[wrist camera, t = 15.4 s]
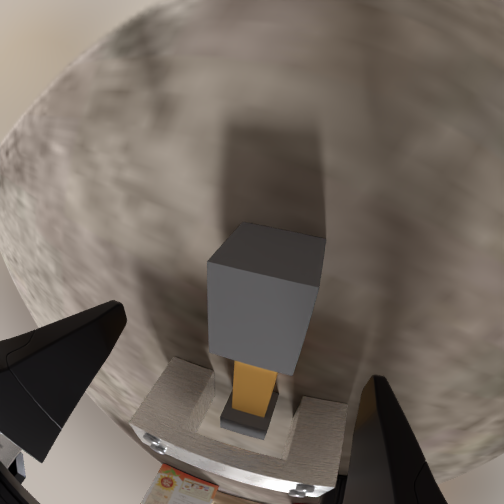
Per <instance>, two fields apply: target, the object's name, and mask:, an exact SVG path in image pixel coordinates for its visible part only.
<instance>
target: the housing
mask: <svg viewBox="0 0 504 504" xmlns="http://www.w3.org/2000/svg"><path fill="white" fill-rule="evenodd" d="M214 397H215V388H214V371H212V370H210V369H207V368H204V367H201V366H198V365H195V364H193V363H190V362H187V361H185V360H182V359H179V358H177V357H173V358H172V360H171V361H170V363H169V364H168V366H167V367H166V368H165V370H164V371H163V373H162V374H161V376H160V377H159V379H158V380H157V382H156V383H155V384H154V386H153V387H152V389H151V390H150V392H149V393H148V395H147V396H146V398H145V399H144V401H143V402H142V403H141V405H140V406H139V408H138V409H137V411H136V412H135V414H134V415H133V417H132V418H131V420H130V421H129V424H130V425H131V427H132V428H133V430H134V431H135V433H136V434H137V436H138V437H139V438H140V440H141V441H142V442H143V443H145V444H147V445H149V446H150V448H151V449H152V450H154V451H155V452H157V453H159V454H162V455H164V454H167V455H169V456H172V457H174V458H176V459H179V460H181V461H183V462H186V463H188V464H191V465H193V466H196V467H198V468H201V469H203V470H206V471H209V472H212V473H215V474H218V475H221V476H224V477H227V478H230V479H233V480H236V481H240V482H243V483H247V484H251V485H255V486H259V487H263V488H267V489H272V490H276V491H281V492H286V493H289V494H288V495H290V496H294V497H305V496H311V497H318V496H320V495H322V494H324V493H326V492H328V491H330V490H332V489H333V488H335V485H336V480H337V475H338V469H339V464H340V458H341V452H342V445H343V439H344V431H345V423H346V415H347V405H348V404H345V403H339V402H333V401H328V400H322V399H317V398H312V397H307V396H303V398H302V400H301V402H300V404H299V406H298V408H297V410H296V413H295V415H294V417H293V419H292V423H291V427H290V430H289V434H288V438H287V441H286V445H285V448H284V451H283V455H282V458H281V459H280V458H275V457H271V456H267V455H263V454H259V453H255V452H252V451H248V450H244V449H241V448H238V447H234V446H231V445H228V444H225V443H222V442H219V441H216V440H213V439H211V438H208V437H205V436H202V435H200V434H197V433H196V432H197V431H198V429H199V427H200V425H201V423H202V421H203V419H204V417H205V415H206V413H207V411H208V409H209V407H210V405H211V403H212V401H213V399H214Z"/></svg>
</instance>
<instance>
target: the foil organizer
mask: <svg viewBox="0 0 504 504" xmlns="http://www.w3.org/2000/svg"><path fill="white" fill-rule="evenodd" d="M211 504H262V503H257V502H253V501H249V500H245V499H242V498H238V497H235V496H231V495H228V494H225V493H222V492H219V491H217V492H216V494H215V497H214V499H213V501H212V503H211Z"/></svg>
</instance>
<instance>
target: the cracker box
mask: <svg viewBox="0 0 504 504" xmlns="http://www.w3.org/2000/svg"><path fill="white" fill-rule="evenodd" d="M218 487H219V486H217V485H215V484H212V483H209V482H206V481H204V480H201V479H199V478H196V477H193V476H191V475H188V474H186V473H184V472H182V471H180V470H177V469H175V468H173V467H171V466H169V465H167V464H164V463H163V464H162V466H161V468H160V470H159V472H158V473H157V475H156V477H155V479H154V480H153V482H152V484H151V486H150V488H149V489H148V491H147V493H146V495H145V496H144V498H143V500H142V502H141V503H140V504H211V503H212V501H213V499H214V497H215V494H216V492H217V490H218Z"/></svg>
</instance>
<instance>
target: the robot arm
mask: <svg viewBox="0 0 504 504" xmlns="http://www.w3.org/2000/svg"><path fill="white" fill-rule="evenodd" d="M126 323H127V318H126V314H125V310H124V306H123V304H122V303H120V302H118V301H115V300H112V301H109V302H106V303H104V304H101V305H98V306H96V307H93V308H90V309H88V310H85V311H83V312H80V313H77V314H75V315H72V316H69V317H67V318H64V319H62V320H59V321H56V322H54V323H51V324H48V325H46V326H43V327H41V328H38V329H36V330H33V331H30V332H28V333H25V334H22V335H19V336H16V337H13V338H10V339H6V340H2V341H0V504H40V503H39V502H38V501H37V500H36V499H35V498H34V497H33V496H32V495H31V494H30V493H29V492H28V491H27V490H26V489H25V488H24V487H23V486H22V485H21V484H22V482H23V481H24V479H25V478H26V476H25V469H24V461H23V454H22V453H21V452H20V451H21V450H23V451H25V452H26V453H28V454H29V455H30V456H32V457H33V458H35V459H36V460H38V461H39V462H41V463H43V461H44V460H45V458H46V456H47V454H48V452H49V450H50V449H51V447H52V445H53V444H54V442H55V440H56V438H57V436H58V435H59V433H60V431H61V430H62V428H63V426H64V425H65V423H66V421H67V420H68V418H69V416H70V414H71V413H72V411H73V410H74V408H75V407H76V405H77V403H78V402H79V400H80V398H81V397H82V396H83V394H84V392H85V391H86V389H87V388H88V386H89V385H90V383H91V382H92V380H93V379H94V377H95V376H96V374H97V373H98V371H99V370H100V368H101V367H102V365H103V364H104V362H105V361H106V359H107V358H108V356H109V354H110V353H111V351H112V349H113V347H114V345H115V344H116V342H117V340H118V338H119V336H120V335H121V333H122V331H123V329H124V327H125V326H126ZM425 460H426V459H425V457H424V455H423V453H422V450H421V448H420V446H419V444H418V442H417V440H416V437H415V435H414V433H413V431H412V429H411V427H410V425H409V423H408V421H407V419H406V417H405V415H404V413H403V410H402V408H401V406H400V404H399V403H398V401H397V399H396V397H395V395H394V393H393V391H392V389H391V387H390V385H389V383H388V381H387V379H386V378H385V377H384V376H380V375H373V376H372V377H371V378H370V380H369V381H368V383H367V384H366V386H365V387H364V389H363V391H362V394H361V399H360V405H359V410H358V415H357V420H356V424H355V429H354V434H353V442H352V450H351V458H350V465H349V471H348V477H344V476H337V480H336V485H335V488H333V489H332V490H330V491H328V492H326V493H324V494H322V495H321V498H320V502H319V504H448V503H447V502H446V500H445V498H444V496H443V494H442V493H441V491H440V489H439V487H438V485H437V483H436V481H435V479H434V477H433V475H432V473H431V470H430V468H429V466H428V464H427V462H426V461H425Z"/></svg>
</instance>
